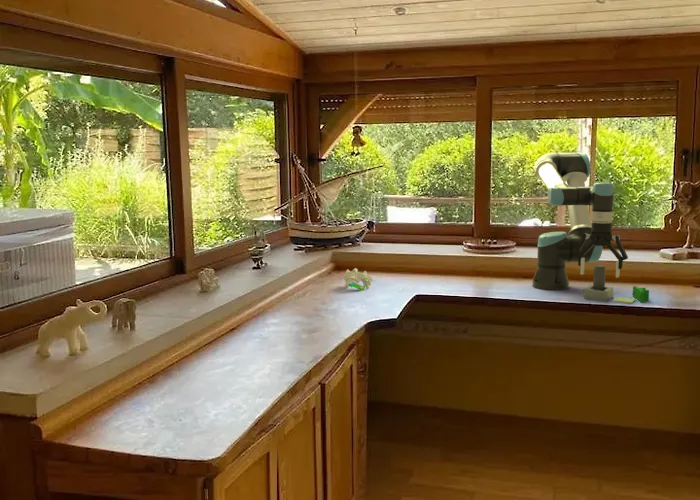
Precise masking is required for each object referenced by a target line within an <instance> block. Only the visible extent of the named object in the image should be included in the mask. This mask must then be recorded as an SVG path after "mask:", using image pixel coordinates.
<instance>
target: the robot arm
mask: <svg viewBox="0 0 700 500" xmlns="http://www.w3.org/2000/svg"><path fill="white" fill-rule="evenodd" d="M533 171H534V175H535V177H536V178H537V179H538V180H540V181H541V182H542V183H543V185H544V186H545V187H546V189H547V201H548V202H547V203H548V204H549V205H550V206H557V207H560V206H567V210H568V217H569V225H570V230H569V232H568V234H567V232H566V231H550V232H544V233H541V234H540V235H539V236H538V239H537V260H536V261H537V264H536V265H537V266H536V270H535V274H534V276H533V278H532V284H531V285H532V287H534V288H536V289H541V290H555V291H556V290H557V291H558V290H565V289H566V290H567V289H568V288H570V281H569V278H568V274H567V270H566V263H578V264H577V265H578V266H580V272H579V273H580V274H579V275H581V276H582V275H584V274H585V264H586V263H588V264H589V263H596V262H598V261H599V260H600V259H601V256H602V254H603V247H605V246H606V247H607V248H608V249H609V250H610V252H611V253H612V254H613V255H614V256H615V258H616V259H617V260H616V261H615V279H616V278H617V279H618V278H620V274H621V273H620V270H622V269H623V265H624V263H623V261H625V260H628V259H629V256H628V254H627V252H626V250H625V248H624V246H623V243H622V241H621V236H620V234H617V235H613V234H612V231H613V230H612V229H613V228H612V227H613V222H612V221H613V209H614V208H613V206H614V193H615V191H614V184H613V183H612V182H594V183H593V185H591V186H586V184H585V183H586V181H587V180H588V178H589V177H590V174H591V161H590V159H589V156H588V155H587V154H586V153H584V152H578V151H574V152H548V153H546V154H543V155H542V156H540V157H539V158H538V159H536V162H535V164H534V167H533ZM590 206H592V207H591V215H590V208H589V207H590ZM612 240H613V241H614V242H615V243H616V246H617V248H618V250H619V251H618V250H617V249H616V247H615V246H614V244H613V243H612V242H611V241H612Z"/></svg>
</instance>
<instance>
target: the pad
mask: <svg viewBox="0 0 700 500" xmlns="http://www.w3.org/2000/svg"><path fill="white" fill-rule="evenodd" d="M636 301H637V300H636V299H635V298H633V297H631V298H630V297H621V296H617V297H615V298H614V299H612V302H613V303H622V304H628V305H633V303H634V302H635V303H636Z"/></svg>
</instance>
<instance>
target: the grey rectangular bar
mask: <svg viewBox="0 0 700 500" xmlns="http://www.w3.org/2000/svg"><path fill="white" fill-rule="evenodd" d="M606 269H607V267H606V265H600V264H597V265H593V279H592V280H593V282H592V285H593V289H599V290H605V287H606V271H607V270H606Z"/></svg>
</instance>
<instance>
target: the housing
mask: <svg viewBox="0 0 700 500" xmlns="http://www.w3.org/2000/svg"><path fill="white" fill-rule="evenodd" d="M613 297H614V287H613V286H605V290H599V289H593V284H590V285H588V286H586V287H585V288H584V289H583V299H584V300H590V301H591V300H592V301H600V302H602V301H603V302H608V301H610V300H612V299H613Z"/></svg>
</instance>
